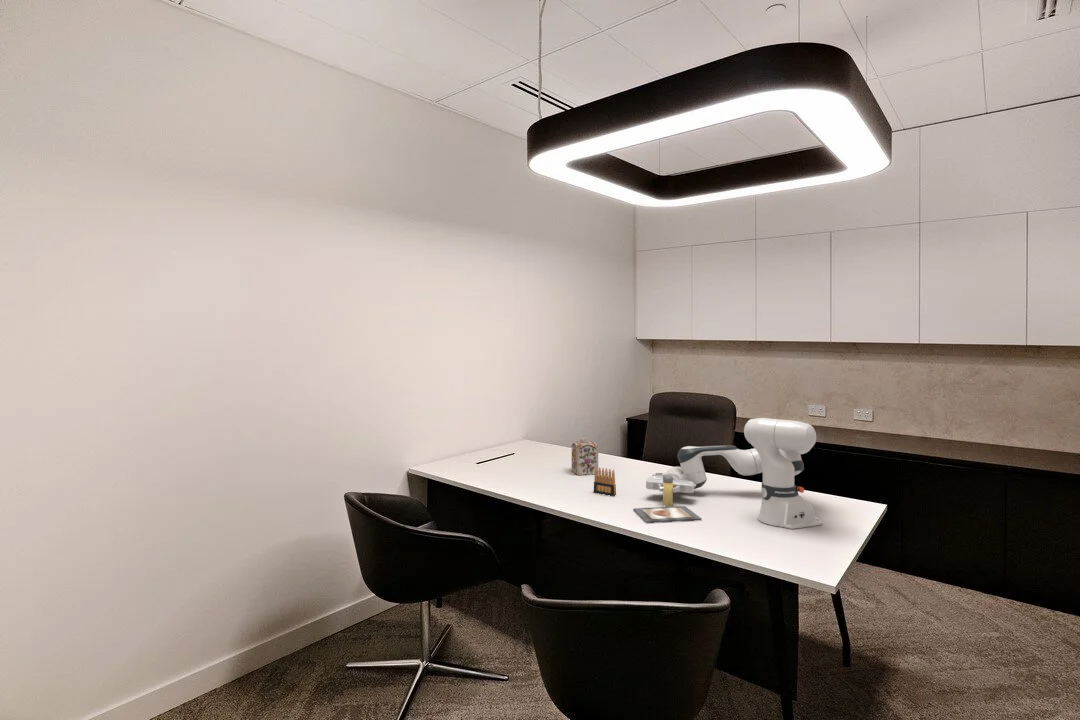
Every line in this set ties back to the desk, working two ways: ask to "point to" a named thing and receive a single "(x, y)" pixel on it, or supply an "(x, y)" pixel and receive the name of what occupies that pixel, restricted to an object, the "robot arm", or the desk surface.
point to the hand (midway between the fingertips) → (667, 490)
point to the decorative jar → (584, 457)
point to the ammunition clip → (604, 482)
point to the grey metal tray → (666, 514)
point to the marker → (667, 490)
